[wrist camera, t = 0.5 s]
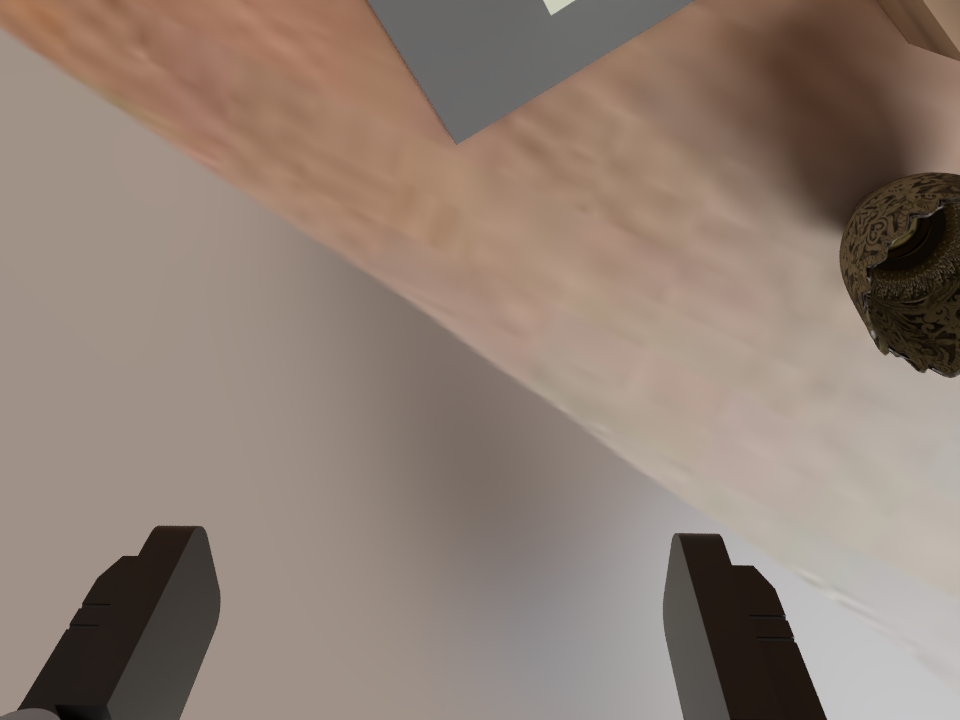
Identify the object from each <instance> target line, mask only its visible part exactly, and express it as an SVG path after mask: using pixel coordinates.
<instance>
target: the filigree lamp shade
mask: <svg viewBox="0 0 960 720" xmlns="http://www.w3.org/2000/svg"><path fill="white" fill-rule="evenodd" d="M840 268H841V273H842V277H843V280H844V283H845V286H846V288H847V291H848V293H849V295H850V297H851V299H852V301H853V303H854V305H855V307H856V309H857V311H858V313H859V315H860V316H861V318H862V320H863V322H864V324H865V325H866V327H867V329H868V331H869V334H870V335H871V337H872V339H873V340H874V342H875V344H876V346H877V348H878V349H879V350H880V351H881V352H882V353H883V354H884V355H887V354H888V353H889V352H891V353H892V354H893V355H894V356H896V357H902V358H904V359H905V360H906V361H907V362H908V363H910V364H911V365H912V366H913V367H914V368H915V369H916V370H917V371H918V372H921V373H925V372H926V370H927V369H928V368H929V369H931V370H933V371H934V372H936V373H938V374H940V375H942V376H944V377H948V378H953V377H956V376H958V375H959V374H960V175H956V174H950V173H933V172H932V173H921V174H915V175H911V176H907V177H904V178H901V179H898V180H895V181H893V182H891V183H889V184H887V185H885V186H883V187H882V188H879V189H877V190H875V191H873V192H872V193H870V194H869V195H867V196H866V197H865V198H864V199H863V200H862V201H861V202H860V203H859V204H858V205H857V207H856V208H855V210H854V212H853V214H852V217H851V218H850V220H849V222H848V224H847V226H846V228H845V231H844V233H843V237H842V241H841V246H840Z"/></svg>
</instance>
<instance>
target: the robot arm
mask: <svg viewBox="0 0 960 720" xmlns="http://www.w3.org/2000/svg"><path fill="white" fill-rule="evenodd" d="M219 612H220V589H219V585H218V580H217V576H216V572H215V567H214V563H213V558H212V555H211V550H210V545H209V541H208V537H207V533H206V531H205V529H204V528H203V527H201V526H157V527H155V528H154V529H153V530H152V532H151V534H150V535H149V537H148V539H147V541H146V542H145V544H144V546H143V548H142V549H141V551H140V553H139V555H138V556H122V557H121V558H120V559H119V560H118V561H117V562H115V563H114V564H113V565H112V566H111V567H110V568H109V569H108V570H106V571H105V572H104V573H103V574H102V575H101V576H99V577H98V578H97V580H96V582H95V583H94V585H93V586H92V588H91V590H90V591H89V593H88V595H87V596H86V598H85V600H84V601H83V603H82V608H81V609H78V611H77V613H76V614H75V616H74V618H73V619H72V621H71V623H70V628H69V630H68V629H67V630H66V631H65V633H64V634H63V636H62V638H61V639H60V641H59V643H58V644H57V646H56V647H55V649H54V651H53V652H52V654H51V656H50V658H49V659H48V661H47V662H46V664H45V666H44V667H43V669H42V670H41V672H40V674H39V676H38V677H37V679H36V681H35V682H34V684H33V685H32V687H31V689H30V690H29V692H28V694H27V695H26V697H25V699H24V700H23V702H22V703H21V705H20V707H19V708H18V709H17V711H14V712H11V713H8V714H6V715H3V716H1V717H0V720H179V719H180V717H181V714H182V712H183V709H184V707H185V704H186V702H187V699H188V696H189V694H190V692H191V689H192V687H193V684H194V682H195V679H196V677H197V674H198V672H199V669H200V667H201V664H202V662H203V659H204V656H205V654H206V651H207V649H208V647H209V644H210V642H211V639H212V637H213V634H214V631H215V629H216V626H217V623H218V618H219ZM663 620H664V630H665V636H666V641H667V646H668V650H669V655H670V659H671V664H672V668H673V673H674V677H675V682H676V686H677V691H678V695H679V700H680V704H681V709H682V713H683V718H684V720H827V718H826V716H825V713H824V711H823V709H822V706H821V703H820V701H819V698H818V696H817V693H816V691H815V688H814V686H813V683H812V681H811V678H810V676H809V673H808V671H807V668H806V666H805V663H804V661H803V658H802V655H801V653H800V650H799V648H798V645H797V643H795V642H794V635H793V633H792V630H791V628H790V625H789V623H788V621H786V618H785V613H784V610H783V608H782V605H781V603H780V600H779V598H778V595H777V593H776V590H775V588H773V586H772V585H771V584H770V583H769V582H768V581H767V580H766V579H765V578H764V577H763V576H762V574H761V573H760V572H759V571H758V570H757V569H756V568H755V567H754V566H742V565H740V566H739V565H732V564H731V561H730V559H729V556H728V553H727V550H726V547H725V544H724V541H723V539H722V537H721V536H720V534H693V533H687V534H686V533H675V534H674V536H673V538H672V543H671V550H670V557H669V564H668V571H667V578H666V585H665V592H664V599H663Z"/></svg>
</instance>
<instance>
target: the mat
mask: <svg viewBox="0 0 960 720" xmlns="http://www.w3.org/2000/svg"><path fill="white" fill-rule="evenodd" d="M367 1H368V2H369V4H370V6H371V7H372V9H373V10H374V12H375V14H376V15H377V17H378V19H379V20H380V22H381V23H382V25H383V27H384V28H385V30H386V32H387V33H388V35H389V36H390V38H391V40H392V41H393V43H394V44H395V46H396V48H397V49H398V51H399V53H400V54H401V56H402V57H403V59H404V61H405V62H406V64H407V66H408V67H409V69H410V70H411V72H412V74H413V75H414V77H415V78H416V80H417V82H418V83H419V85H420V87H421V88H422V90H423V91H424V93H425V95H426V96H427V98H428V100H429V101H430V103H431V104H432V106H433V108H434V109H435V111H436V112H437V114H438V116H439V117H440V119H441V121H442V122H443V124H444V125H445V127H446V129H447V130H448V132H449V133H450V135H451V137H452V138H453V140H454V142H455V143H456V145H457V144H459V143H460V142H462V141H464V140H465V139H467V138H469V137H470V136H472V135H473V134H475V133H477V132H478V131H480V130H482V129H483V128H485V127H487V126H488V125H490V124H492V123H493V122H495V121H497V120H498V119H500V118H501V117H503V116H505V115H506V114H508V113H510V112H511V111H513V110H515V109H516V108H518V107H520V106H521V105H523V104H525V103H526V102H528V101H529V100H531V99H533V98H534V97H536V96H538V95H539V94H541V93H543V92H544V91H546V90H548V89H549V88H551V87H553V86H554V85H556V84H557V83H559V82H561V81H562V80H564V79H566V78H567V77H569V76H571V75H572V74H574V73H576V72H577V71H579V70H581V69H582V68H584V67H585V66H587V65H589V64H590V63H592V62H594V61H595V60H597V59H599V58H600V57H602V56H604V55H605V54H607V53H609V52H610V51H612V50H613V49H615V48H617V47H618V46H620V45H622V44H623V43H625V42H627V41H628V40H630V39H632V38H633V37H635V36H637V35H638V34H640V33H641V32H643V31H645V30H646V29H648V28H650V27H651V26H653V25H655V24H656V23H658V22H660V21H661V20H663V19H665V18H666V17H668V16H669V15H671V14H673V13H674V12H676V11H678V10H679V9H681V8H683V7H684V6H686V5H688V4H689V3H691V2H693V1H694V0H575V1H573V2H572V3H570V4H568V5H567V6H565V7H564V8H562V9H561V10H559V11H557V12H556V13H554V14H553V15H551V14H550V12H549V11H548V9H547V7H546V5H545V3H544V1H543V0H367Z"/></svg>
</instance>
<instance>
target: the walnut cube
mask: <svg viewBox="0 0 960 720" xmlns="http://www.w3.org/2000/svg"><path fill="white" fill-rule="evenodd" d="M877 1H878V2H879V4H880V5H881V6H882V8H883V9H884V10H885V12H886V13H887V14H888V16H889V17H890V19H891V20H892V21H893V23H894V24H895V25H896V27H897V28H898V29H899V31H900V32H901V34H902V35H903V36H904V38H905V39H906V40H907V42H908V43H909V44H912V45H915V46H918V47H921V48H923V49H926V50H929V51H932V52H935V53H938V54H941V55H943V56H946V57H949V58H952V59H955V60H958V61H960V0H877Z"/></svg>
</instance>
